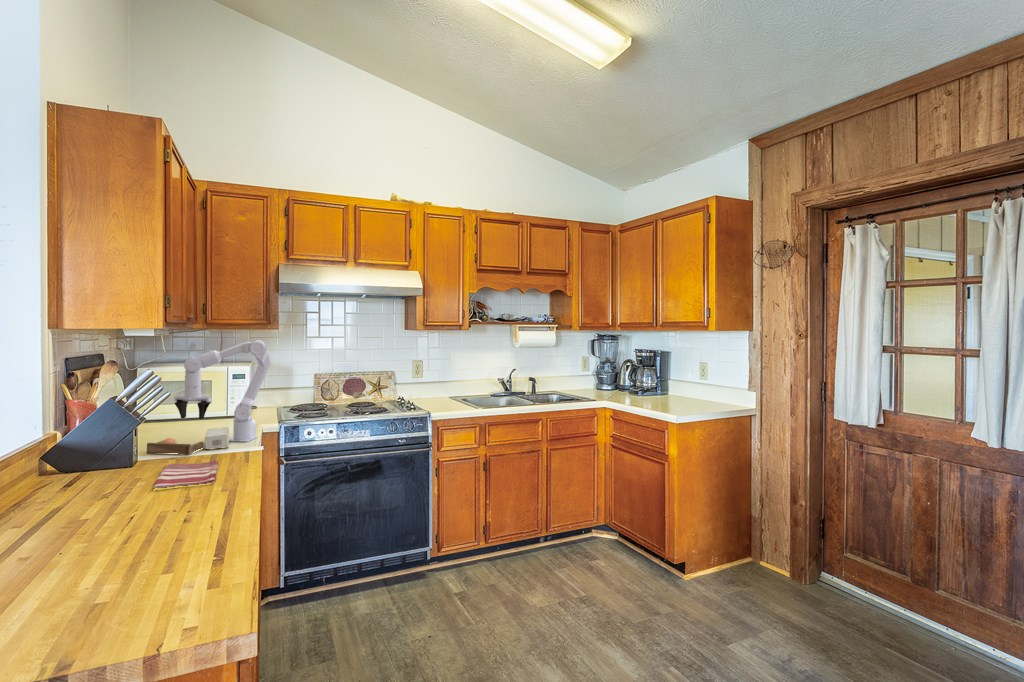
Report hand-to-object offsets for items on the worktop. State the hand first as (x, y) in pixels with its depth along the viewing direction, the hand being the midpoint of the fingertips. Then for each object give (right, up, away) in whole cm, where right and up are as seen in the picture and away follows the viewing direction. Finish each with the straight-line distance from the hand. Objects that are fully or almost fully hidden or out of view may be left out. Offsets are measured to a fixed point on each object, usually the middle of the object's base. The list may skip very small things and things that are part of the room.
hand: (192, 418), depth 211 cm
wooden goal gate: (+2, -11, -14) cm, 18 cm away
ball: (-2, -8, -12) cm, 15 cm away
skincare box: (+15, -9, -9) cm, 20 cm away
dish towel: (+25, -14, -42) cm, 51 cm away
